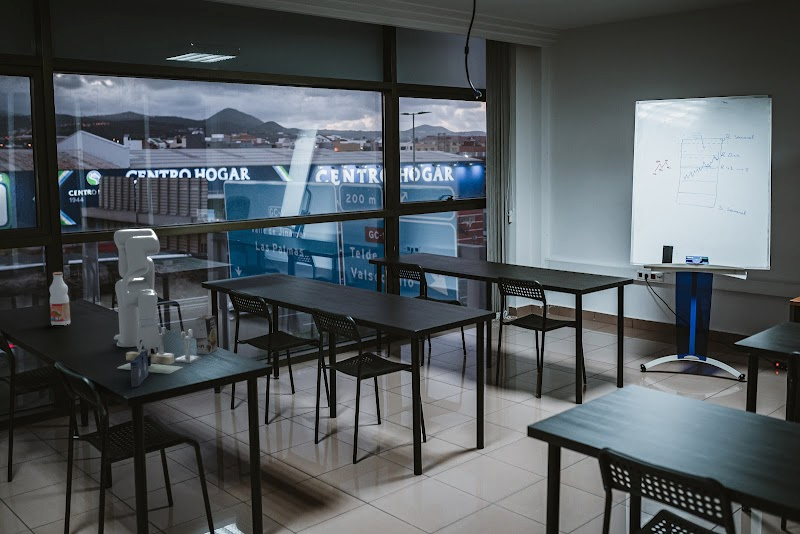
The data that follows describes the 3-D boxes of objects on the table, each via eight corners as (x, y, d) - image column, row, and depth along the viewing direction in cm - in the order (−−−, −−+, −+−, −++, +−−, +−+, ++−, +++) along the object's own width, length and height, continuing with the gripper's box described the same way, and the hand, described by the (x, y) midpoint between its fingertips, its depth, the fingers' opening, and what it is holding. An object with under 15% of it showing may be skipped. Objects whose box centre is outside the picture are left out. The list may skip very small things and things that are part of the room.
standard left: (148, 358, 353) (146, 329, 352) (159, 354, 361) (157, 326, 359) (163, 360, 351) (161, 331, 349) (174, 356, 358) (173, 327, 356)
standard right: (174, 361, 349) (173, 332, 347) (185, 357, 356) (184, 328, 354) (190, 362, 346) (189, 333, 344) (201, 358, 353) (199, 329, 352)
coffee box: (209, 354, 361) (208, 319, 359) (196, 353, 362) (194, 318, 360) (217, 349, 370) (216, 315, 368) (204, 349, 371) (203, 314, 369)
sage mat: (117, 368, 337) (117, 367, 337) (132, 362, 347) (132, 361, 347) (169, 373, 329) (169, 372, 329) (183, 367, 338) (183, 366, 338)
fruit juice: (72, 324, 426) (69, 272, 423) (54, 327, 421) (51, 274, 417) (67, 321, 434) (64, 270, 430) (49, 324, 428) (45, 272, 424)
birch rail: (126, 360, 340) (125, 353, 339) (130, 358, 342) (130, 351, 342) (169, 364, 332) (169, 357, 332) (174, 362, 335) (174, 355, 335)
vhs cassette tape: (142, 374, 328) (141, 351, 326) (150, 374, 328) (148, 351, 326) (130, 387, 309) (128, 362, 308) (137, 387, 310) (136, 362, 308)
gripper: (152, 317, 344) (154, 359, 346) (127, 325, 329) (130, 368, 331) (167, 318, 341) (169, 360, 344) (143, 326, 326) (145, 370, 329)
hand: (150, 364), depth 337 cm, fingers closed on birch rail, 3 cm apart
